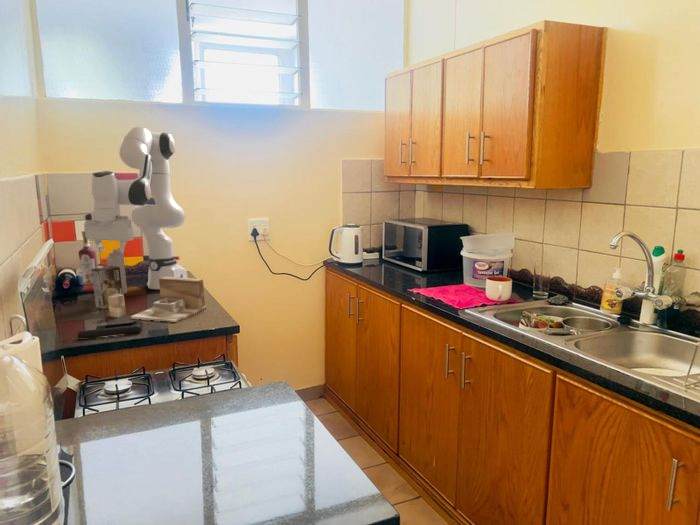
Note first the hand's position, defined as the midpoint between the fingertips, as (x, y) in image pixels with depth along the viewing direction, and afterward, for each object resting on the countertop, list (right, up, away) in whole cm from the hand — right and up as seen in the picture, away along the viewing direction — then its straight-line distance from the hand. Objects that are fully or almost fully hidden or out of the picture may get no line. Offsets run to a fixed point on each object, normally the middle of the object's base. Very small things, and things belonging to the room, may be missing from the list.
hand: (111, 251), depth 201 cm
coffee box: (-9, -22, +20) cm, 31 cm away
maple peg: (0, -25, +5) cm, 25 cm away
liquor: (-29, -18, +45) cm, 56 cm away
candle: (-16, -19, +37) cm, 45 cm away
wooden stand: (+20, -24, +7) cm, 32 cm away
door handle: (+7, -29, -14) cm, 33 cm away
